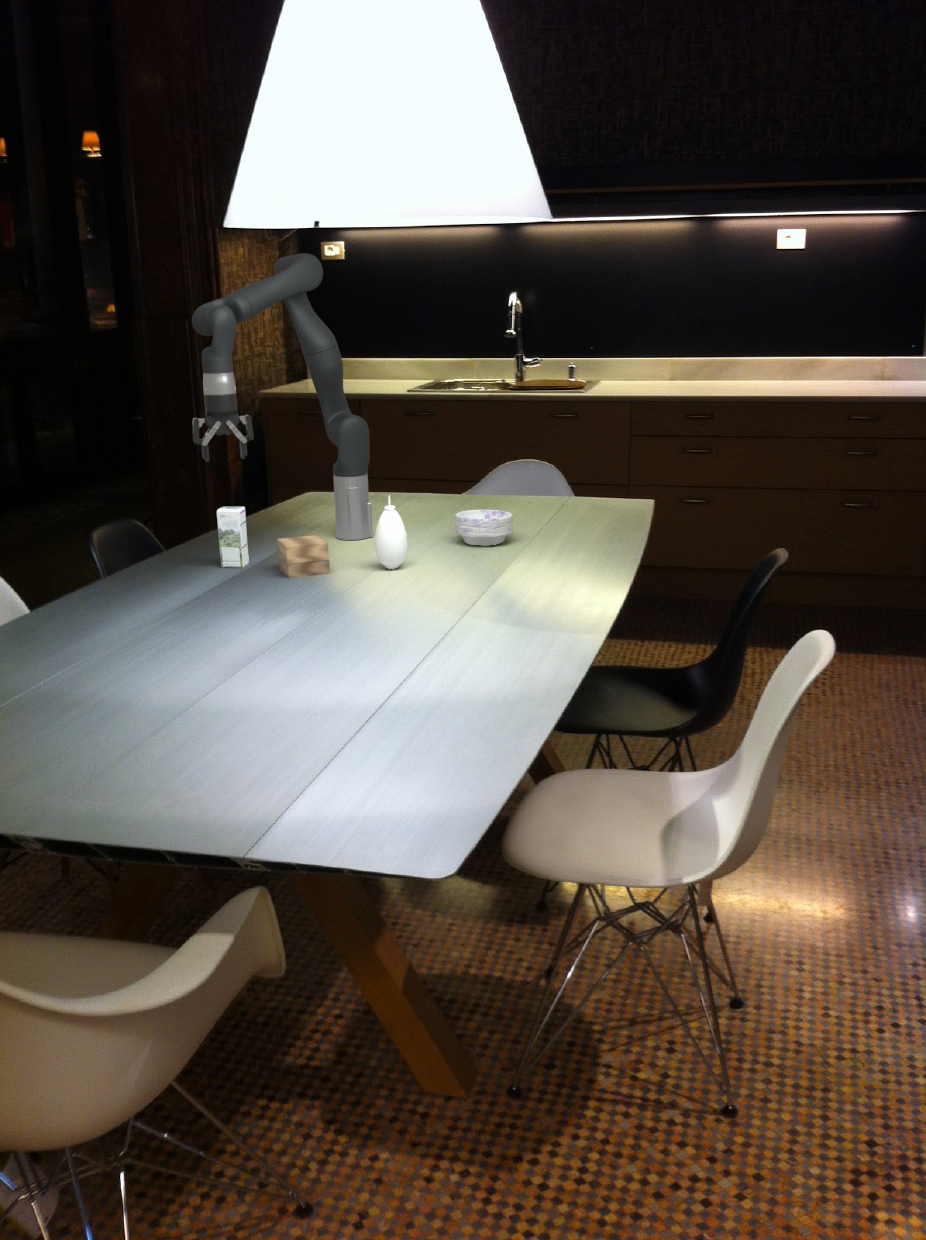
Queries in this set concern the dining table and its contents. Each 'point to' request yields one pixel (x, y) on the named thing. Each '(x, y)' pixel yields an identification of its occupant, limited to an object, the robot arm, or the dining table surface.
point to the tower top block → (302, 549)
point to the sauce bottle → (390, 538)
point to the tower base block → (304, 568)
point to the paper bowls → (483, 526)
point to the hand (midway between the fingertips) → (225, 459)
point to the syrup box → (232, 537)
